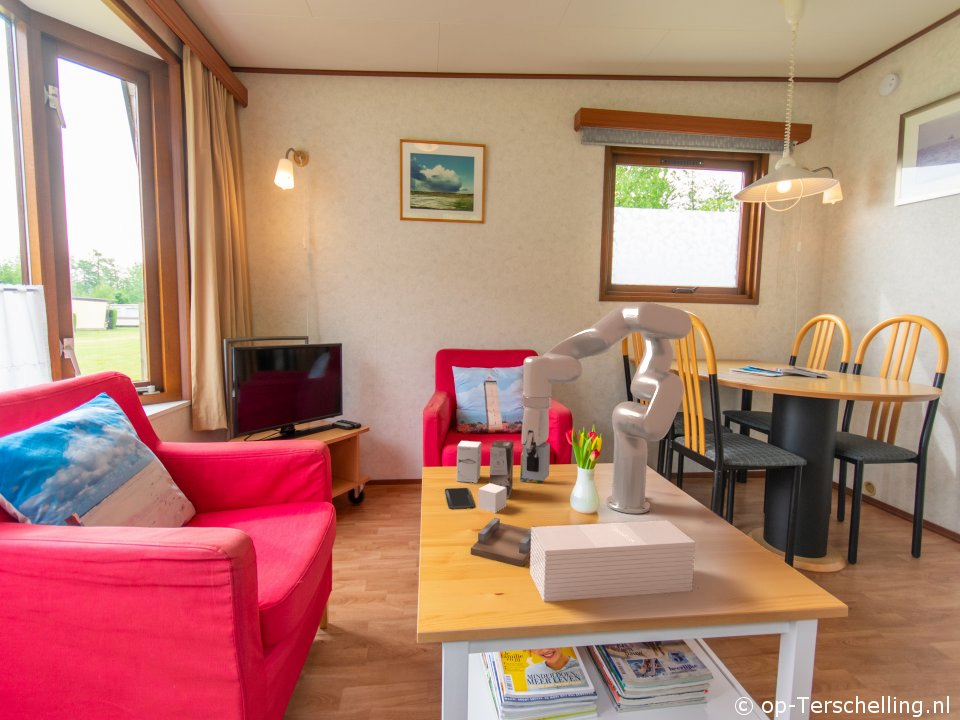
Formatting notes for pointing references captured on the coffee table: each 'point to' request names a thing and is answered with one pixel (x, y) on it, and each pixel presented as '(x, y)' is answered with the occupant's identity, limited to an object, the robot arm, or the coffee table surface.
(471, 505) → the phone
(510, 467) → the coffee box
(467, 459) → the supplement box
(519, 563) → the display stand
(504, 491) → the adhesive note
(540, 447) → the slate block
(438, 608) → the coffee table surface
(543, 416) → the robot arm
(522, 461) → the crayon box
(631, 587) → the stack of papers
